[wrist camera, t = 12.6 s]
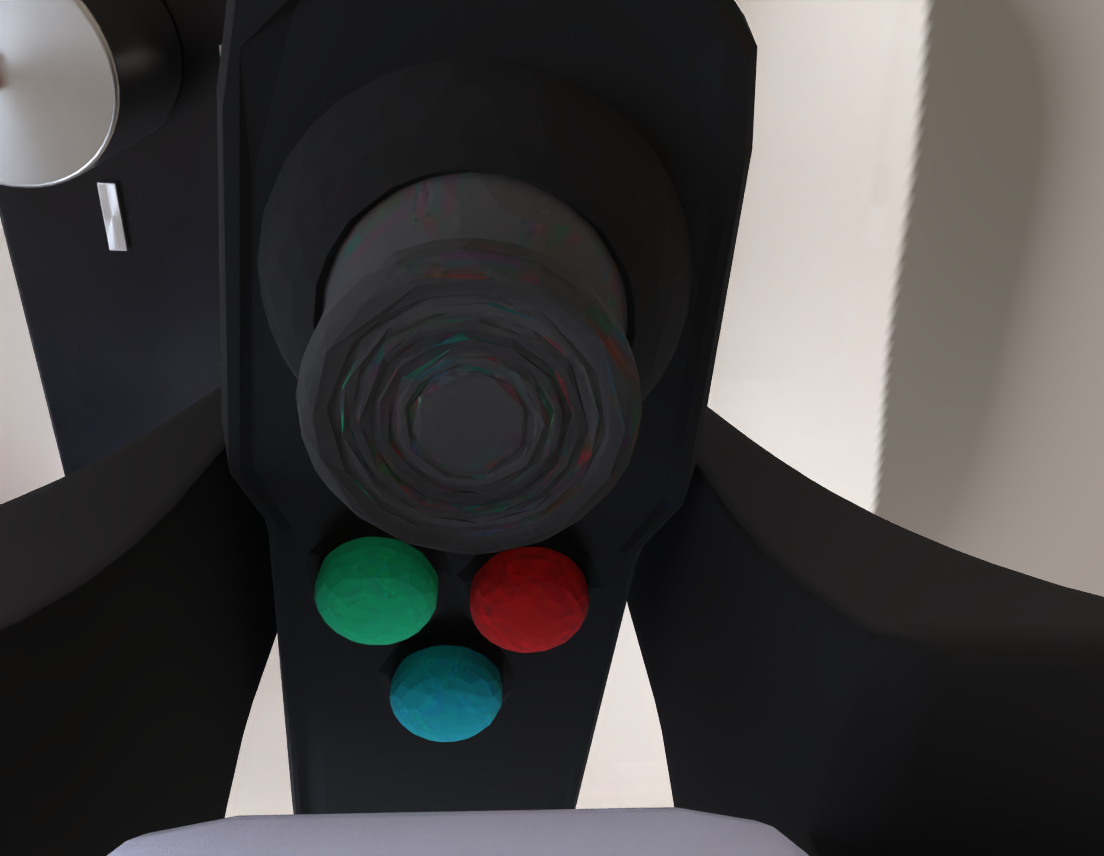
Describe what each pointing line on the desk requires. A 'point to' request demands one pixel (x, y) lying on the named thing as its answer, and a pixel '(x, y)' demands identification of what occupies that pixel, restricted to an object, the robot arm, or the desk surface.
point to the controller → (467, 361)
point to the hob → (129, 267)
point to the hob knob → (81, 83)
